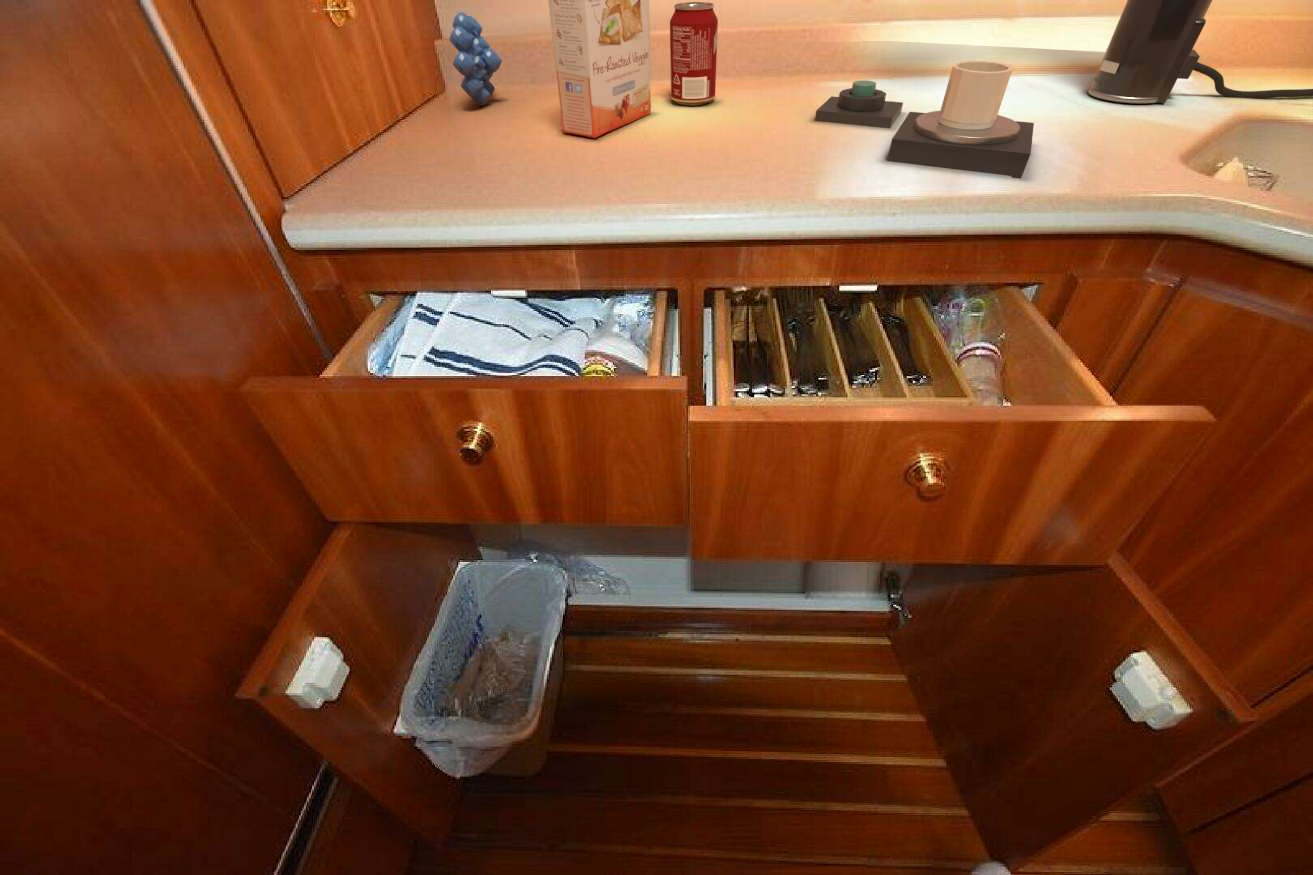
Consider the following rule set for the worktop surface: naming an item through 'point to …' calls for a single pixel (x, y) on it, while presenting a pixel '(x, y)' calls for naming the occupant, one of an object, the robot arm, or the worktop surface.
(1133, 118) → the worktop surface
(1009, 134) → the scale
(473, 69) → the grapes
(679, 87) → the soda can
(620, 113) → the cracker box
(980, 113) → the cup
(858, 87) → the button
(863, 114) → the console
